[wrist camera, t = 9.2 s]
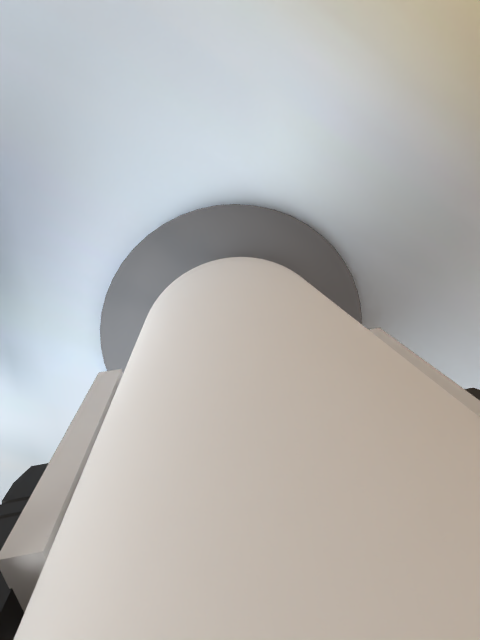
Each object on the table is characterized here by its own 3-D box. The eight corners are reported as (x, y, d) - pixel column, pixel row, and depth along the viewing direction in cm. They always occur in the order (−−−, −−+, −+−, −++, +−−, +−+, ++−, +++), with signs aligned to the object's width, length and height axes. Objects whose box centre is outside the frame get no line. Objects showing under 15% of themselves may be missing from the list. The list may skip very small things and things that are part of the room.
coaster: (71, 224, 15) (66, 225, 14) (354, 187, 15) (360, 186, 15) (135, 460, 19) (133, 468, 18) (357, 420, 20) (362, 427, 19)
